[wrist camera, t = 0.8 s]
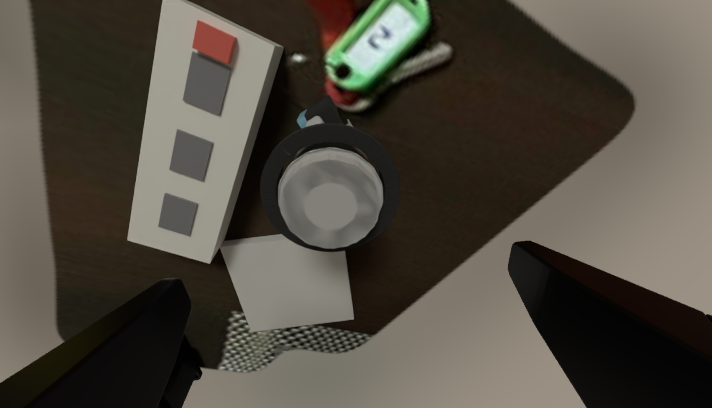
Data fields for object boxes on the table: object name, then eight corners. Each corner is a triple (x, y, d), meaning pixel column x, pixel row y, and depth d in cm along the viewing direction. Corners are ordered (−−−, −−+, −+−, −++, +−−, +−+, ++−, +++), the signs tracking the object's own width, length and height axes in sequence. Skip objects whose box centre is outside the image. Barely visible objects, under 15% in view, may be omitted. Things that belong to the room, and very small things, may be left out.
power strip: (224, 238, 22) (207, 268, 19) (153, 216, 21) (122, 244, 18) (284, 47, 17) (272, 45, 14) (193, 3, 16) (157, -10, 13)
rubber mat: (253, 324, 26) (251, 331, 26) (223, 241, 22) (219, 247, 22) (353, 312, 27) (354, 319, 26) (341, 227, 23) (342, 232, 22)
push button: (396, 165, 21) (443, 250, 12) (331, 202, 22) (329, 307, 13) (345, 76, 18) (357, 98, 9) (274, 123, 19) (220, 185, 10)
